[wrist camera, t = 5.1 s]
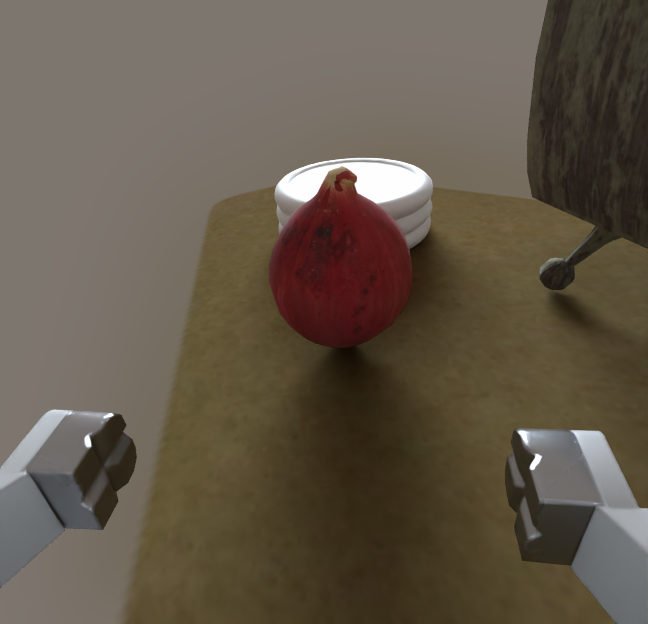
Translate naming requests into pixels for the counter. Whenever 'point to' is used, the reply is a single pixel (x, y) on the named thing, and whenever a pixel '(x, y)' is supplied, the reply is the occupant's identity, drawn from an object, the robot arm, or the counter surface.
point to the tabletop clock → (591, 123)
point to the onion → (340, 266)
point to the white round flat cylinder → (367, 191)
